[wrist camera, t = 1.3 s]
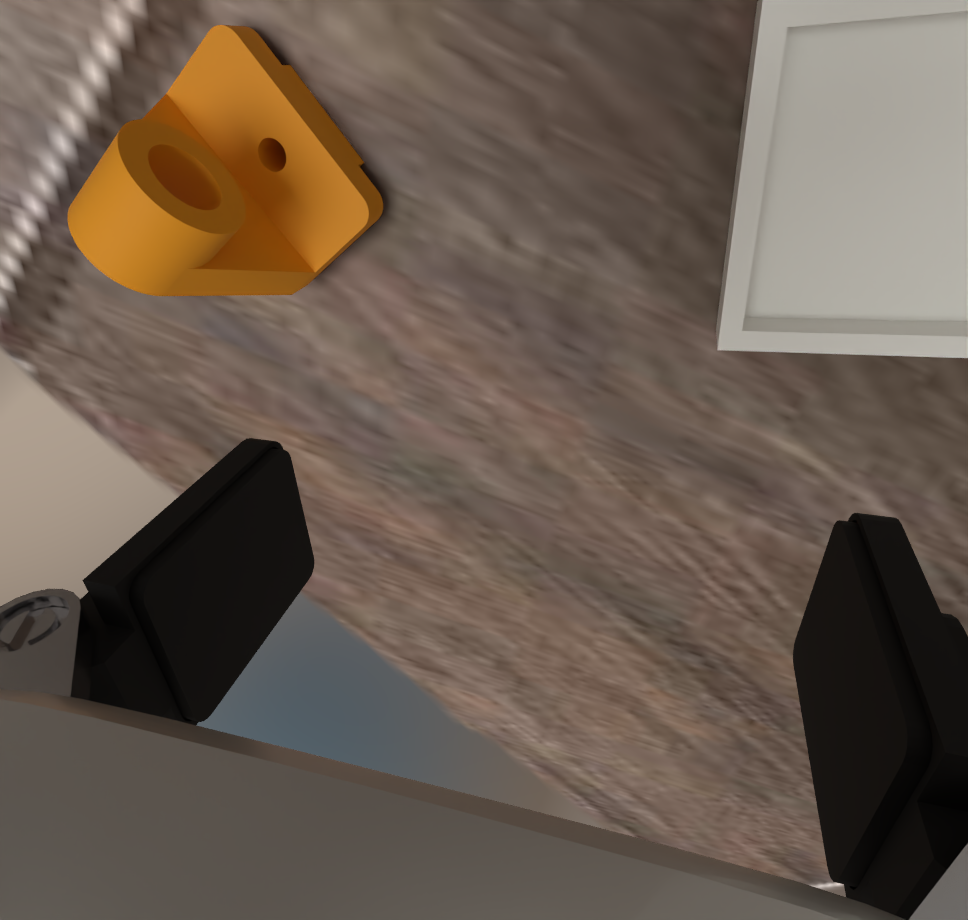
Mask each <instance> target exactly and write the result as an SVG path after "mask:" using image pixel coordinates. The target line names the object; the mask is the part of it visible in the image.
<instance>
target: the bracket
mask: <svg viewBox="0 0 968 920" xmlns="http://www.w3.org/2000/svg"><path fill="white" fill-rule="evenodd" d="M363 163H364V162H363V160H362V159H361V158H360V156H359V155H358V154H357V152H356V151H355V150H354V149H353V147H352V146H351V145H350V143H349V142H348V141H347V139H346V138H345V137H344V135H343V134H342V133H341V131H340V130H339V129H338V127H337V126H336V125H335V123H334V122H333V121H332V120H331V118H330V117H329V116H328V114H327V113H326V112H325V110H324V109H323V108H322V106H321V105H320V104H319V102H318V101H317V100H316V98H315V97H314V96H313V94H312V93H311V92H310V90H309V89H308V88H307V87H306V85H305V84H304V83H303V81H302V80H301V79H300V77H299V76H298V75H297V73H296V72H295V71H294V69H293V68H292V67H291V65H282V64H281V63H280V62H279V60H278V59H277V58H276V57H275V55H274V54H273V53H272V51H271V50H270V49H269V47H268V46H267V45H266V43H265V42H264V41H263V40H262V38H261V37H260V36H259V34H258V33H257V32H256V31H254V30H253V29H251V28H249V27H246V26H228V25H217V26H215V27H213V28H212V29H210V31H209V32H208V34H207V35H206V36H205V38H204V39H203V41H202V42H201V44H200V45H199V47H198V48H197V50H196V51H195V53H194V54H193V55H192V57H191V58H190V60H189V61H188V63H187V64H186V66H185V67H184V69H183V70H182V72H181V73H180V75H179V76H178V77H177V79H176V80H175V82H174V83H173V85H172V86H171V88H170V89H169V91H168V92H167V94H166V95H165V96H164V97H163V98H162V99H161V100H160V101H159V102H158V103H157V104H156V105H155V106H154V107H153V108H152V109H151V110H150V111H149V112H148V113H147V114H146V115H145V117H144V118H143V119H138V120H133V121H130V122H128V123H126V124H125V125H124V126H122V128H121V129H120V131H119V132H118V134H117V135H116V137H115V138H114V140H113V141H112V143H111V144H110V146H109V147H108V149H107V150H106V152H105V154H104V155H103V157H102V158H101V160H100V161H99V163H98V164H97V166H96V167H95V169H94V170H93V172H92V173H91V175H90V176H89V178H88V179H87V181H86V182H85V184H84V185H83V187H82V188H81V190H80V192H79V193H78V195H77V196H76V198H75V199H74V201H73V202H72V204H71V205H70V208H69V211H68V225H69V229H70V232H71V235H72V237H73V239H74V241H75V243H76V244H77V246H78V247H79V249H80V250H81V251H82V253H83V254H84V255H85V256H86V258H87V259H88V260H89V261H90V262H91V263H92V264H93V265H94V266H95V267H96V268H98V269H99V270H100V271H101V272H103V273H104V274H105V275H106V276H108V277H109V278H111V279H112V280H114V281H116V282H117V283H119V284H121V285H123V286H125V287H127V288H129V289H132V290H134V291H137V292H140V293H144V294H148V295H154V296H219V295H292V294H294V293H295V292H297V291H298V290H300V289H302V288H303V287H305V286H306V285H308V284H309V283H310V282H311V281H312V280H313V279H314V278H315V277H317V276H318V275H319V274H320V273H321V272H322V271H323V270H324V269H325V268H326V267H327V266H328V265H329V264H331V263H332V262H333V261H334V260H335V259H336V258H337V257H338V256H339V255H340V254H341V253H342V252H344V251H345V250H346V249H347V248H348V247H349V246H350V245H351V244H352V243H353V242H354V241H355V240H356V239H358V238H359V237H360V236H361V235H362V234H363V233H364V232H365V231H366V230H367V229H368V228H369V227H370V226H372V225H373V224H374V223H375V222H376V221H377V220H378V219H379V218H380V216H381V214H382V212H383V201H382V197H381V195H380V193H379V192H378V190H377V189H376V188H375V186H374V185H373V184H372V182H371V181H370V180H369V179H368V177H367V176H366V175H365V173H364V172H363V171H362V169H361V168H360V166H361V165H362V164H363Z"/></svg>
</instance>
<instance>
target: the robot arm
mask: <svg viewBox="0 0 968 920" xmlns="http://www.w3.org/2000/svg"><path fill="white" fill-rule="evenodd" d="M313 569H314V556H313V552H312V547H311V543H310V539H309V534H308V530H307V526H306V521H305V517H304V513H303V508H302V504H301V500H300V495H299V491H298V487H297V482H296V478H295V474H294V469H293V465H292V461H291V457H290V454H289V453H288V452H287V451H285V450H283V447H282V446H281V444H280V443H278V442H276V441H269V440H261V439H253V438H249V439H245V440H244V441H242V442H241V443H240V444H239V445H238V446H237V447H235V448H234V449H233V450H232V451H231V452H230V453H228V454H227V455H226V456H225V457H224V458H223V459H222V460H220V461H219V462H218V463H217V464H216V465H215V466H214V467H212V468H211V469H210V470H209V471H208V472H207V473H205V474H204V475H203V476H202V477H201V478H200V479H199V480H197V481H196V482H195V483H194V484H193V485H192V486H191V487H189V488H188V489H187V490H186V491H185V492H184V493H182V494H181V495H180V496H179V497H178V498H177V499H176V500H174V501H173V502H172V503H171V504H170V505H169V506H168V507H167V508H165V509H164V510H163V511H162V512H161V513H160V514H158V515H157V516H156V517H155V518H154V519H153V520H152V521H150V522H149V523H148V524H147V525H146V526H145V527H144V528H142V529H141V530H140V531H139V532H138V533H136V534H135V535H134V536H133V537H132V538H131V539H130V540H129V541H127V542H126V543H125V544H124V545H123V546H122V547H121V548H119V549H118V550H117V551H116V552H115V553H114V554H112V555H111V556H110V557H109V558H108V559H107V560H105V561H104V562H103V563H102V564H101V565H100V566H99V567H98V568H96V569H95V570H94V571H93V572H92V573H91V574H89V575H88V576H87V577H86V578H85V579H84V580H83V582H84V584H85V586H86V588H87V590H88V593H87V594H86V595H85V596H84V597H83V598H81V599H79V598H78V597H77V596H76V595H75V594H74V593H73V592H71V591H68V590H64V589H46V590H41V591H36V592H32V593H29V594H26V595H23V596H20V597H18V598H15V599H14V600H12V601H10V602H8V603H6V604H4V605H2V606H0V920H968V636H967V634H966V632H965V630H964V628H963V626H962V625H961V623H960V622H959V620H958V619H957V618H955V617H954V616H952V615H950V614H943V613H941V612H940V609H939V607H938V605H937V603H936V600H935V598H934V596H933V594H932V592H931V589H930V587H929V585H928V583H927V580H926V578H925V576H924V574H923V571H922V569H921V567H920V565H919V562H918V560H917V558H916V556H915V553H914V551H913V549H912V547H911V544H910V542H909V540H908V538H907V536H906V533H905V531H904V529H903V527H902V524H901V523H900V521H899V520H898V519H897V518H893V517H885V516H877V515H868V514H860V513H854V514H852V515H851V517H850V518H849V520H848V521H840V520H839V521H837V522H836V523H835V525H834V527H833V530H832V533H831V536H830V539H829V542H828V545H827V548H826V551H825V554H824V557H823V560H822V563H821V566H820V568H819V571H818V574H817V577H816V580H815V583H814V586H813V589H812V592H811V595H810V598H809V601H808V604H807V607H806V610H805V613H804V616H803V619H802V622H801V625H800V628H799V631H798V634H797V637H796V640H795V644H794V650H793V664H794V671H795V677H796V682H797V688H798V694H799V700H800V706H801V712H802V718H803V724H804V730H805V736H806V742H807V748H808V754H809V760H810V766H811V772H812V778H813V784H814V790H815V796H816V801H817V807H818V813H819V819H820V825H821V831H822V837H823V843H824V849H825V855H826V861H827V867H828V871H829V874H830V877H831V879H832V880H833V882H837V883H841V884H844V887H845V892H846V897H843V896H840V895H837V894H834V893H831V892H828V891H824V890H821V889H818V888H815V887H812V886H809V885H806V884H803V883H800V882H796V881H793V880H790V879H786V878H782V877H779V876H775V875H772V874H768V873H764V872H761V871H757V870H753V869H750V868H746V867H743V866H739V865H735V864H732V863H728V862H725V861H721V860H717V859H714V858H710V857H706V856H703V855H699V854H696V853H692V852H688V851H685V850H681V849H678V848H674V847H670V846H667V845H663V844H659V843H655V842H651V841H648V840H644V839H640V838H636V837H632V836H628V835H624V834H621V833H617V832H613V831H609V830H605V829H601V828H597V827H593V826H590V825H586V824H582V823H578V822H574V821H570V820H567V819H563V818H559V817H555V816H551V815H547V814H544V813H540V812H536V811H532V810H528V809H524V808H520V807H517V806H513V805H509V804H505V803H501V802H497V801H493V800H489V799H485V798H481V797H478V796H474V795H470V794H466V793H462V792H458V791H454V790H450V789H446V788H443V787H438V786H435V785H431V784H427V783H423V782H419V781H415V780H411V779H407V778H403V777H399V776H395V775H391V774H388V773H384V772H379V771H376V770H372V769H368V768H363V767H360V766H356V765H352V764H348V763H344V762H339V761H336V760H332V759H328V758H324V757H320V756H316V755H312V754H308V753H305V752H301V751H297V750H292V749H288V748H285V747H280V746H276V745H272V744H268V743H264V742H260V741H256V740H252V739H248V738H244V737H240V736H236V735H232V734H228V733H224V732H220V731H216V730H212V729H208V728H204V727H200V726H196V725H197V723H198V722H202V721H204V720H206V719H207V718H208V717H209V716H210V715H211V714H212V712H213V711H214V710H215V709H216V707H217V706H218V704H219V703H220V702H221V700H222V699H223V697H224V696H225V695H226V693H227V692H228V690H229V689H230V688H231V686H232V685H233V684H234V682H235V681H236V679H237V678H238V677H239V675H240V674H241V673H242V671H243V670H244V668H245V667H246V666H247V664H248V663H249V661H250V660H251V659H252V657H253V656H254V654H255V653H256V652H257V650H258V649H259V648H260V646H261V645H262V644H263V642H264V641H265V639H266V638H267V637H268V635H269V634H270V632H271V631H272V630H273V628H274V627H275V626H276V624H277V623H278V621H279V620H280V619H281V617H282V616H283V614H284V613H285V611H286V610H287V609H288V607H289V606H290V605H291V603H292V602H293V601H294V599H295V598H296V596H297V595H298V594H299V592H300V591H301V590H302V588H303V587H304V585H305V584H306V583H307V581H308V580H309V578H310V577H311V575H312V572H313Z"/></svg>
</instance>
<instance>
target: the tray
mask: <svg viewBox="0 0 968 920" xmlns="http://www.w3.org/2000/svg"><path fill="white" fill-rule="evenodd" d="M716 341H717V350H730V351H761V352H793V353H824V354H855V355H886V356H917V357H949V358H968V0H759V1H757V8H756V15H755V23H754V31H753V39H752V47H751V55H750V63H749V71H748V79H747V87H746V95H745V103H744V111H743V119H742V127H741V134H740V142H739V150H738V158H737V166H736V174H735V182H734V190H733V198H732V206H731V214H730V222H729V230H728V238H727V245H726V253H725V261H724V269H723V277H722V285H721V293H720V301H719V309H718V317H717V325H716Z"/></svg>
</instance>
